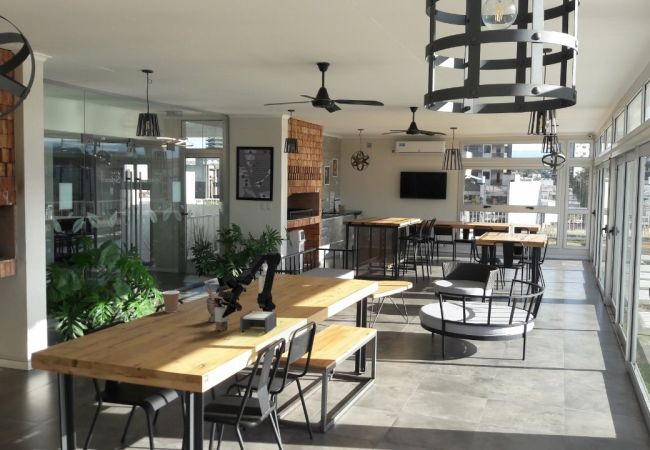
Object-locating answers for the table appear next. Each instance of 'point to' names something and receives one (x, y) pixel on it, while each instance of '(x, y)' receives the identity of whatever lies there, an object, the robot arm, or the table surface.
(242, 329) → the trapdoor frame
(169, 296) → the coffee cup
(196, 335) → the table surface
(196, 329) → the table surface
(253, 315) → the trapdoor
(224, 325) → the stand
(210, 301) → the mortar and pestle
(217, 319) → the grey rectangular block
